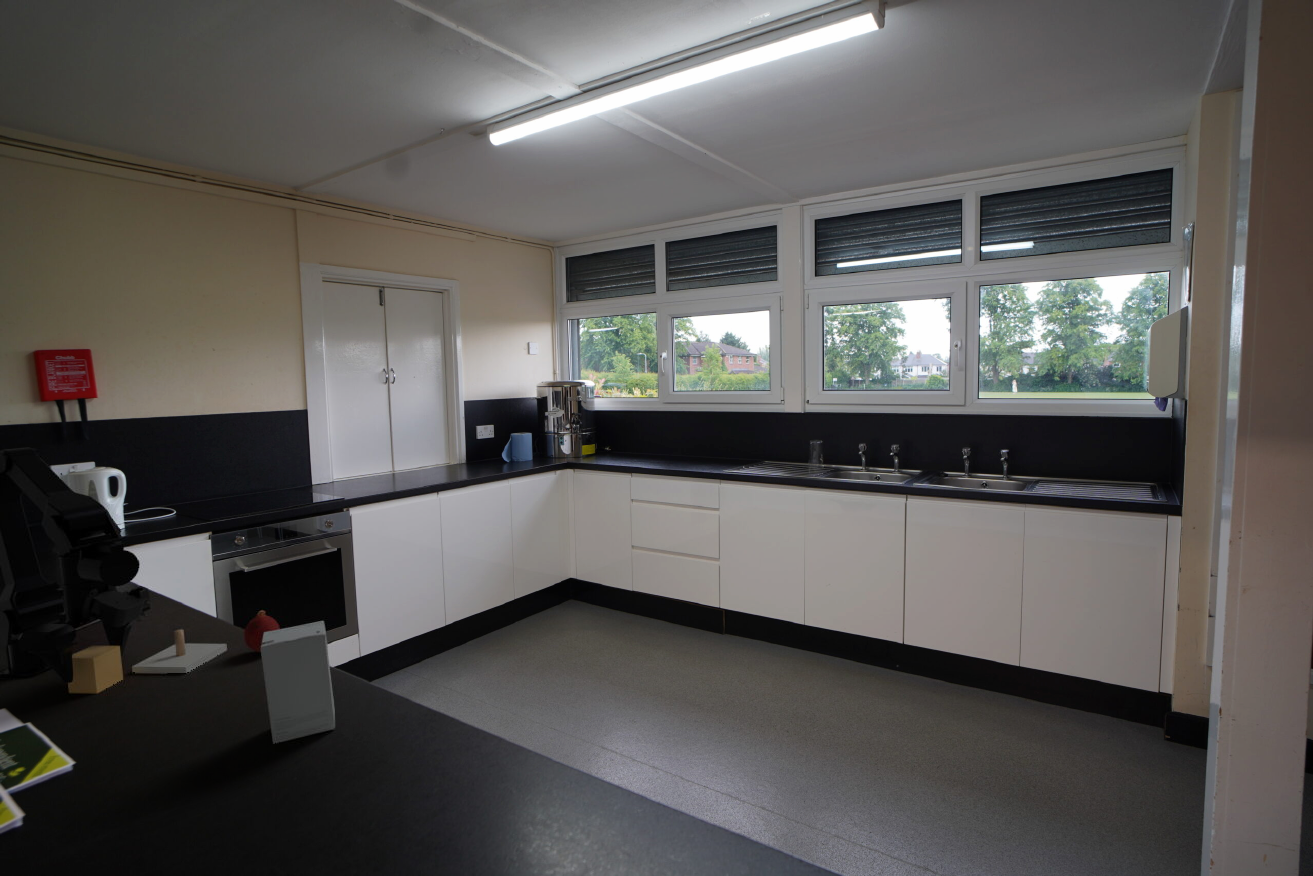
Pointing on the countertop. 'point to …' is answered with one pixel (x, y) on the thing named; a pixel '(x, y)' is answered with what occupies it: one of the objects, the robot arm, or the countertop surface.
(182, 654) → the post plate
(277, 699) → the skincare box
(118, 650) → the cardboard carton
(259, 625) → the onion
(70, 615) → the robot arm
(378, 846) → the countertop surface
